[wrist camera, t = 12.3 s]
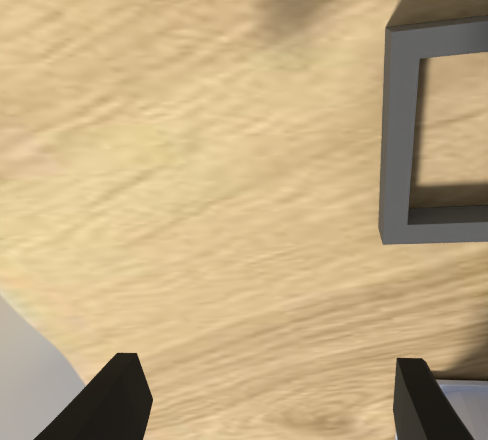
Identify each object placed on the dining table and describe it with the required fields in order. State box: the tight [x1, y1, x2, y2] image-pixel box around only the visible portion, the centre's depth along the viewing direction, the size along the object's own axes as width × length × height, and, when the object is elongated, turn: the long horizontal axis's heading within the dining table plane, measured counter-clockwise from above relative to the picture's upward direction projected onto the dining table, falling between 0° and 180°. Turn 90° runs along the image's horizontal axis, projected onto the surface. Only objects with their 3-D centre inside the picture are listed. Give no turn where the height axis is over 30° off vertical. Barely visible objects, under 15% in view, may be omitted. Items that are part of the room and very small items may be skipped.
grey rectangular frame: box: [378, 15, 488, 245], centre depth 17 cm, size 9×8×2 cm
